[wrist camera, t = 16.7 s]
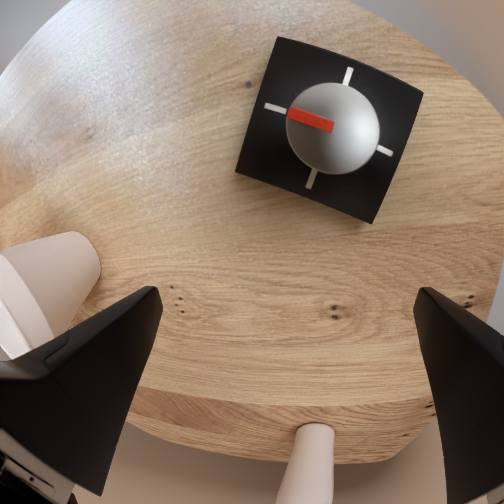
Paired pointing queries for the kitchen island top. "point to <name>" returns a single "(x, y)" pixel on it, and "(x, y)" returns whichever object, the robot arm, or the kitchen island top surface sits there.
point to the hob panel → (280, 151)
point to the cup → (43, 289)
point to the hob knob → (333, 128)
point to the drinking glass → (309, 467)
